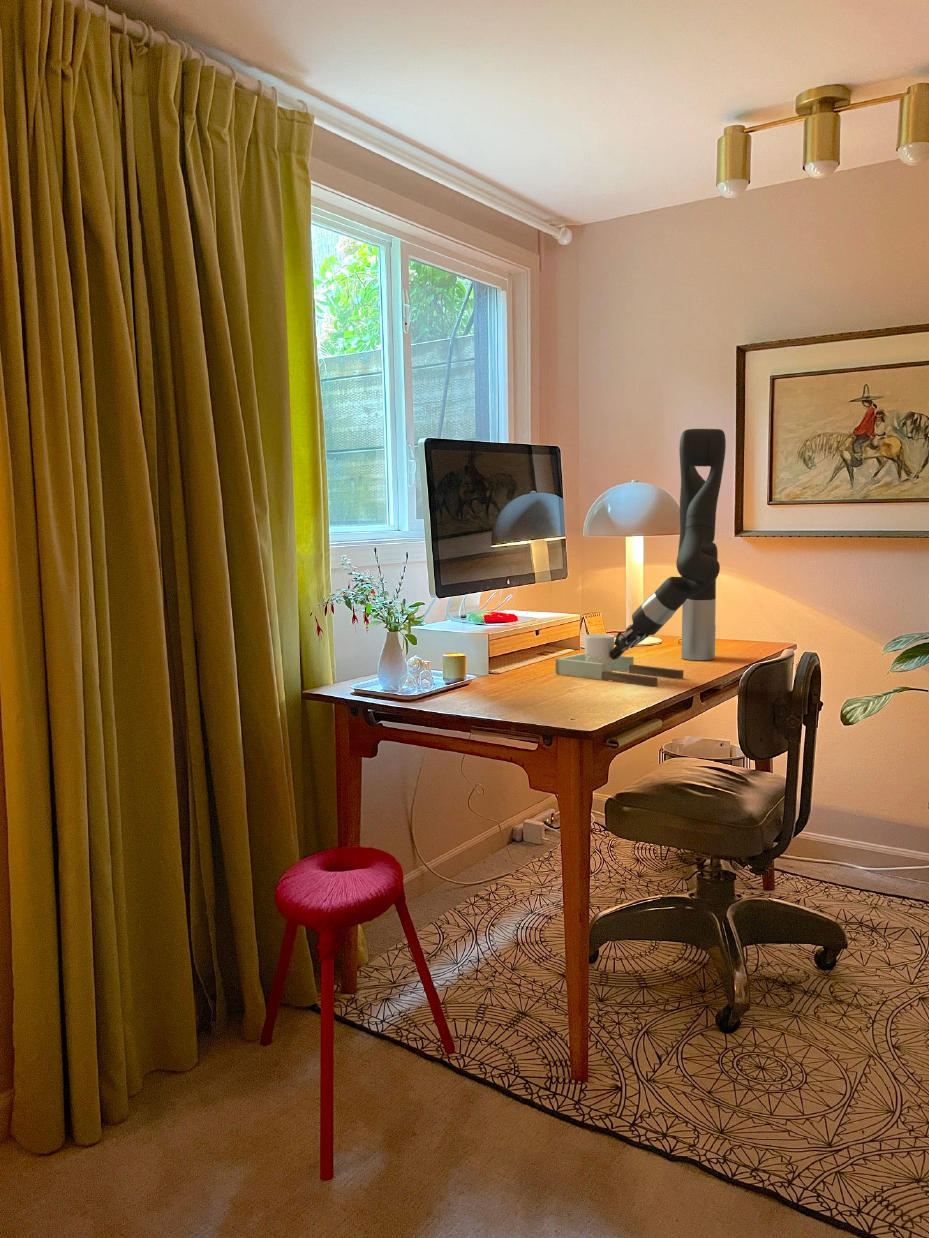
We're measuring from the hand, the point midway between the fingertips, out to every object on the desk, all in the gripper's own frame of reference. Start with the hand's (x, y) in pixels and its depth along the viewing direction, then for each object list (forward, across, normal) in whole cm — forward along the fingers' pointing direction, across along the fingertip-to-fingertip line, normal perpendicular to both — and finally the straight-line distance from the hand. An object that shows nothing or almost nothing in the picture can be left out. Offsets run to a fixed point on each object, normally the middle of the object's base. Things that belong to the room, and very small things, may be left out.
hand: (612, 656), depth 244 cm
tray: (+7, 0, 0) cm, 7 cm away
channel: (-3, 0, +10) cm, 10 cm away
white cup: (+6, 0, +1) cm, 7 cm away
